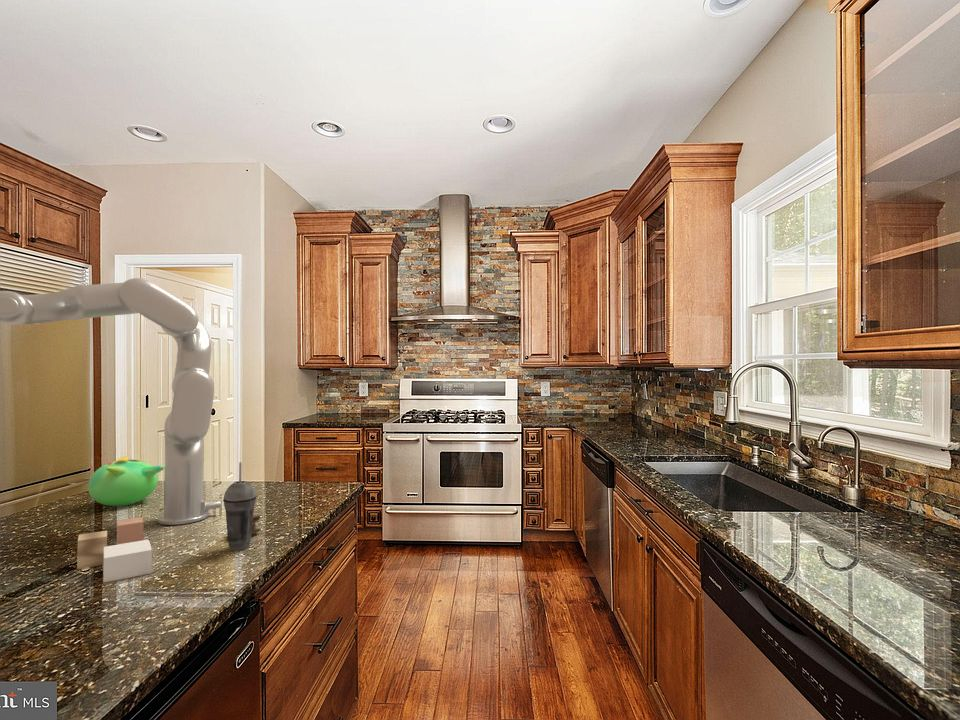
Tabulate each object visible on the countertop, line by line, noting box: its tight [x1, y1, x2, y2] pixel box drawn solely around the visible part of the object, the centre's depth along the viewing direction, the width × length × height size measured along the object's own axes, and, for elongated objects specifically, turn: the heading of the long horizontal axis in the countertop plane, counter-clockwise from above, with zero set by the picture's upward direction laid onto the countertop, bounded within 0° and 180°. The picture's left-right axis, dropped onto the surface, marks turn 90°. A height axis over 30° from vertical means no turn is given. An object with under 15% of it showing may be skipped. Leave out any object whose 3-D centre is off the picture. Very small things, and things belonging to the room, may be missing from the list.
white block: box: [102, 539, 153, 583], centre depth 106 cm, size 8×8×5 cm
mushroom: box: [251, 512, 261, 536], centre depth 129 cm, size 8×8×6 cm
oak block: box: [76, 530, 108, 570], centre depth 110 cm, size 5×5×6 cm
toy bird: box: [87, 455, 165, 507], centre depth 158 cm, size 18×17×15 cm
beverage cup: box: [222, 461, 258, 551], centre depth 121 cm, size 7×7×20 cm
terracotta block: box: [116, 516, 145, 545], centre depth 121 cm, size 5×5×6 cm
